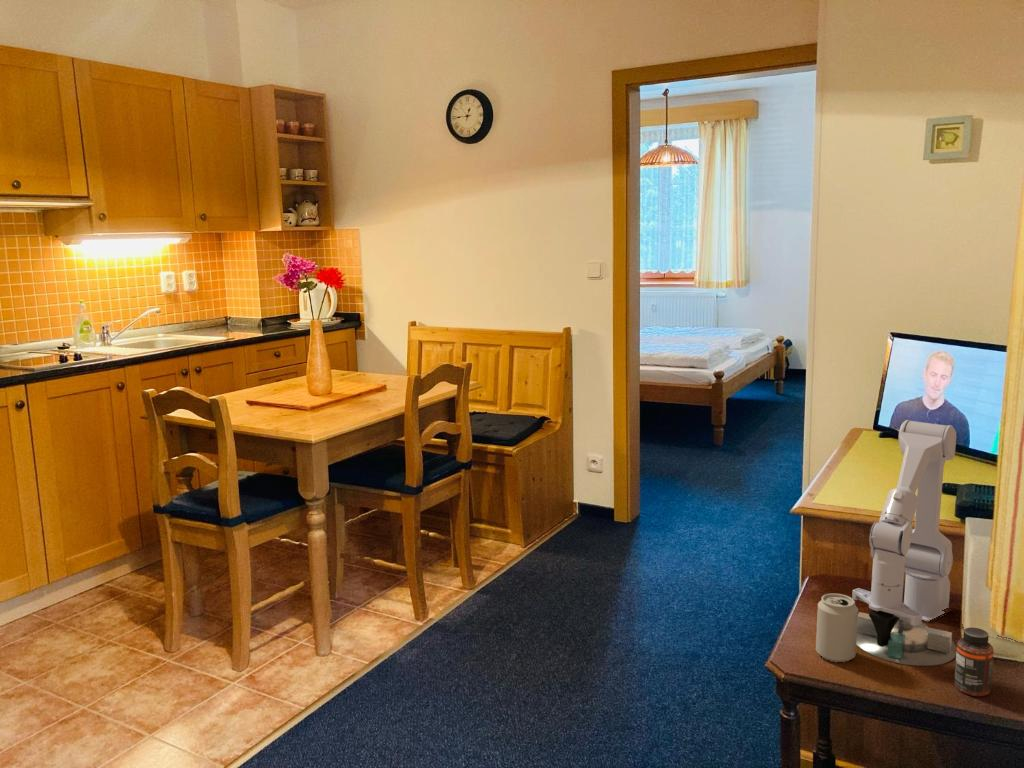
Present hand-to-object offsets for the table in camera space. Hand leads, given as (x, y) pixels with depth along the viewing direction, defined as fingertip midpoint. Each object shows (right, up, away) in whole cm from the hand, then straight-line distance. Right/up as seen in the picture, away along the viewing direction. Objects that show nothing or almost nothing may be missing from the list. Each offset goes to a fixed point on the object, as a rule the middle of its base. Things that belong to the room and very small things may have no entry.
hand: (883, 644), depth 170 cm
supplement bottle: (+10, -4, -14) cm, 18 cm away
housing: (+6, -1, +4) cm, 7 cm away
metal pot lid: (+6, -1, +4) cm, 7 cm away
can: (-10, -2, 0) cm, 10 cm away
